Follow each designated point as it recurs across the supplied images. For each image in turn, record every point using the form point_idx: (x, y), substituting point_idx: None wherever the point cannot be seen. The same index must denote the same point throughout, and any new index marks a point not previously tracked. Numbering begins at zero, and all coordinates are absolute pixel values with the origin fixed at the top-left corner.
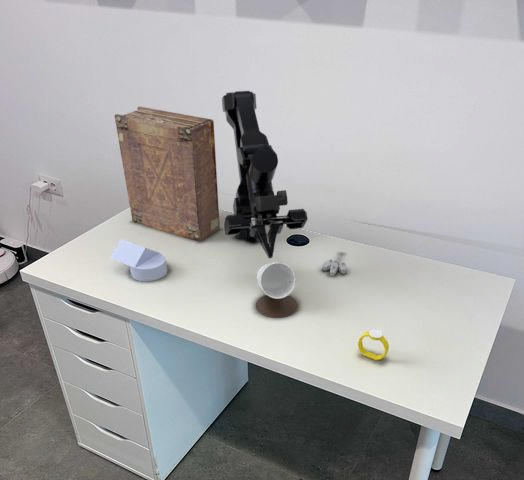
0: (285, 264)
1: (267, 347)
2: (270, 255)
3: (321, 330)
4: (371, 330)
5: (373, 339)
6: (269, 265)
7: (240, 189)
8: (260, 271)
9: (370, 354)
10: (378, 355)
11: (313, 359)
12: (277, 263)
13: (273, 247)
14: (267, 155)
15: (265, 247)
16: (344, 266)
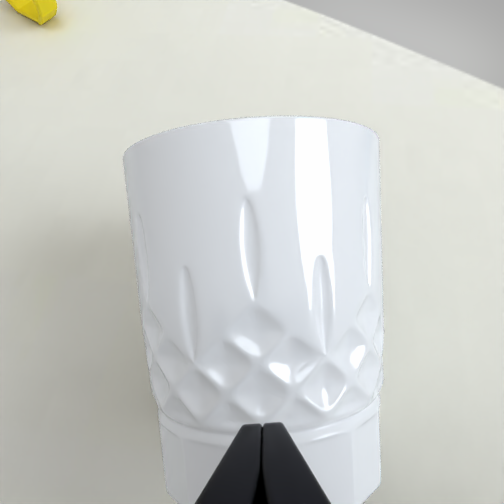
0: (164, 133)
1: (332, 53)
2: (266, 427)
3: (127, 117)
4: None
5: None
6: (310, 117)
7: None
8: (374, 264)
9: (35, 9)
10: (16, 7)
11: (198, 9)
12: (234, 122)
13: (207, 497)
14: None
15: (327, 497)
16: None
